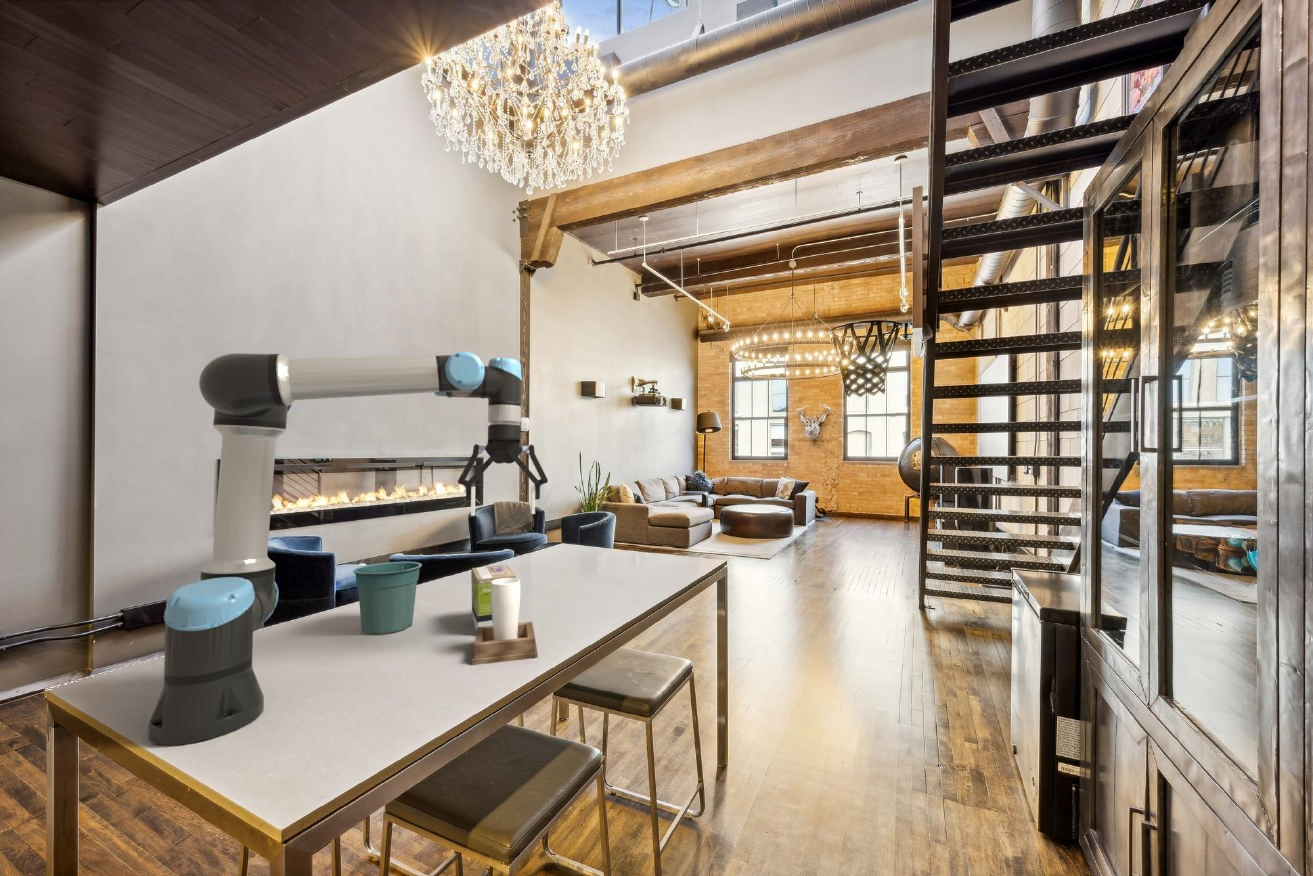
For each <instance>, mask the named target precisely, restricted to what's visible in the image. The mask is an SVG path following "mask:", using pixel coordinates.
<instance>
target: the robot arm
mask: <svg viewBox="0 0 1313 876" xmlns="http://www.w3.org/2000/svg"><path fill="white" fill-rule="evenodd" d="M198 380H199V382H198V383H199V385H198V386H199V390H200V393H201V395H202V397H203V399H204V401H206V403H207V404H208V405H209V406H210V407H212V409H214V412H213V422H212V423H213V426H212V427H213V428H214V429H215V430H216V431H217V432H218V433H220V434H221V436H222V437H221V450H220V451H221V452H220V462H219V473H218V483H217V484H218V486H217V487H218V488H217V497H216V498H217V500H216V509H215V510H216V511H215V512H216V513H215V522H214V532H213V533H214V534H213V545H212V546H213V547H212V557H211V560H210V561H209V562H208V563H206V564H205V565H203V566H202V567H201V568H200V576H199V577H200V578H199V579H200V580H198V581H195V583H189V584H188V583H187V584H186V585H183V586H181V587H179V588H177V589H175V590H174V591H173V592H172V593H171V594H170V595H169V596H168V598H167V601H166V607H165V610H164V614H163V619H164V668H163V669H164V670H163V672H164V673H163V674H164V675H163V676H164V678H163V687H162V691H161V693H160V695H159V697H158V700H157V703H156V705H155V708H154V710H153V712H152V715H151V716H150V719H149V721H148V730H147V731H148V733H147V738H148V740H149V742H150V741H151V743H152V742H153V743H152V744H155V743H156V744H155V745H161V746H177V745H186V744H190V743H197V742H200V741H205V740H208V739H212V738H216V737H219V736H222V735H225V734H229V733H231V732H234V731H236V730H239V729H240V728H243V727H244V726H246V725H249V724H250V723H252V722H253V721H255V720H256V719H257V718H259V717H260V716H261V715H262V713H263V712H264V710H265V708H264V707H265V706H264V705H265V704H264V703H265V698H264V694H263V691H262V689H261V686H260V684H259V681H258V678H257V676H256V674H255V672H254V668H253V654H254V652H253V649H254V647H253V646H254V645H253V644H254V643H253V642H254V640H253V638H254V637H253V636H254V635H253V634H254V632H255V631H256V630H257V629H258V628H260V626H262V625H263V624H264V623H265V622H267V620H268V619H269V618H270V617H271V616H272V614H273V612H274V611H275V608H276V607H277V603H278V601H279V587H278V584H277V583H276V581H275V578H276V577H275V576H276V563H275V562H274V561H273V560H271V559H270V558H269V556H268V549H269V538H270V537H269V536H270V525H271V524H270V522H271V511H272V510H271V509H272V496H273V495H272V494H273V484H274V483H273V482H274V473H275V472H274V470H275V458H276V447H277V446H276V445H277V438H279V437H280V436H281V435H282V434H284V433H285V432H286V431H287V423H288V422H287V421H288V412H289V411H290V409H291V408H292V406H293V403H294V402H295V401H303V400H321V399H323V400H324V399H339V398H340V399H341V398H357V397H359V398H360V397H374V396H375V397H376V396H390V395H391V396H392V395H409V394H410V395H411V394H426V393H434V395H435V396H437V397H446V398H465V399H466V398H468V399H469V398H470V399H471V398H472V399H473V398H474V399H487V400H488V401H487V402H488V404H487V422H488V423H490V424H489V425H488V426H487V444H486V445H482V444H481V445H480V444H477V443H475V444H474V445H473V449H472V454H471V456H470V458H469V460H468V461H467V463H466V465H465V467H464V469H463V471H462V473H461V474H460V477H459V478H458V480H457V483H458V485H461V486H464V487H465V500H466V501H467V502H469V501H470V516H473V517H474V516H475V515H476V486H473V484H474V483H475V482H476V481H478V479H479V478H480V477H481V475H482V474H483V473H484V472H485V471H486V470H488V468H489V467H490V465H492V463H495V464H499V465H500V464H508V465H509V464H512V463H514V462H515V463H516V465H517V466H518V467H519V468H520V469H521V470H522V472H523V473H524V474H525V475H526V476H527V477H528V478H529V480H530V481H531V482H532V483H533V484H534V485H531V491H530V493H531V495H530V496H531V498H530V500H531V501H530V509H531V510H530V514H531V515H535V514H536V500H540V498H541V486H543V485H544V484H548V481H549V479H548V477H547V476H546V474H545V472H544V469H543V467H542V465H541V463H540V462H539V460H538V458H537V455H536V453H535V451H536V450H535V445H534V444H530V445H522V443H521V441H522V438H521V437H522V435H521V434H522V431H521V430H522V427H521V425H519V424H520V423H521V422H522V381H523V377H522V366H521V362H520V361H519V360H517V359H516V358H515V359H514V358H511V357H510V358H508V357H494V358H490V359H489V361H488V365H486V366H485V365H484V363H483V361H482V360H481V358H480V357H479V356H478V355H476V354H475V353H472V352H470V351H463V350H462V351H458V352H455V353H453V354H449V355H448V354H443V355H442V354H441V355H405V356H404V355H403V356H370V357H369V356H367V357H366V356H364V357H363V356H361V357H330V358H329V357H327V358H326V357H325V358H323V357H322V358H293V359H292V358H289V357H287V356H286V355H285V354H283V353H228V354H224V355H221V356H218V357H216V358H214V359H213V360H211V361H210V362H208V364H207V365H206V366H205V367H204V368H203V370H202V371H201V373H200V375H199V379H198ZM484 451H485V452H486V453H487V455H488V456H489V457H488V459H487V460H485V462H484V463H483V464H481V466H480V468H478V469H477V471H475V473H474V474H473V475H472V476H471V477H470V478H469V480H466V479H467V477H468V475H469V473H470V472H471V470H472V468H473V466H474V464H475V463H476V461H477V459H478V456H479V455H481V454H483V452H484ZM523 451H524V452H525V454H526V455H528V456H529V458H530V460H531V462H532V464H533V466H534V468H535V470H536V472H537V474H538V476H539V477H540V479H538V478H537V477H536V475H534V474H533V472H532V471H531V470H530V469H529V468H528V466H527V465H526V464H525V463H524V462H523V460H521V458H519V457H520V455H521V454H522V452H523Z"/></svg>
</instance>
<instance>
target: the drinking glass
mask: <svg viewBox="0 0 1313 876" xmlns="http://www.w3.org/2000/svg"><path fill="white" fill-rule="evenodd" d="M521 589H522V587H521V579H519V578H517V577H516V578H502V579H496V580H493V581H492V582H491V610H492V621H493V634H494V641H499V640H509V639H517V635H518V623H520V622H519V621H520V620H519V619H520V609H521V596H522V595H521V592H522V591H521Z"/></svg>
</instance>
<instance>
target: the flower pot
mask: <svg viewBox="0 0 1313 876" xmlns="http://www.w3.org/2000/svg"><path fill="white" fill-rule="evenodd" d="M422 566H423V565H422V563H419V562H416V561H394V562H393V561H392V562H382V563H372V564H368V565H364V566H358V567H356V568H354V569H353V570H352V572H353V574H355V583H356V587H357V590H358V591H357V592H358V601H359V611H360V615H359V616H360V624H361V632H363V633H364V634H368V635H374V634H375V633H377V634H379V635H384V634H393V633H392V632H394V633H397V632H400V631H404V630H406V628H407V629H408V628H409V627H411V626H412V625H413V622H414V612H415V604H416V592H417V585H418V584H417V583H418V581H419V577H420V570H421V568H422Z"/></svg>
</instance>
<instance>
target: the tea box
mask: <svg viewBox="0 0 1313 876" xmlns="http://www.w3.org/2000/svg"><path fill="white" fill-rule="evenodd" d="M502 578H517V576H516V574H515V573H514V572H513V571H512V569H511V568H510V567H509V566H508V565H507V564H501V565H499V564H498V565H489V566H480V567H471V619H472V623H473V625H474V626H473V627H474V629H475V631H477V627H484V626H493V621H492V610H491V582H492V581H493V580H496V579H502Z"/></svg>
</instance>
